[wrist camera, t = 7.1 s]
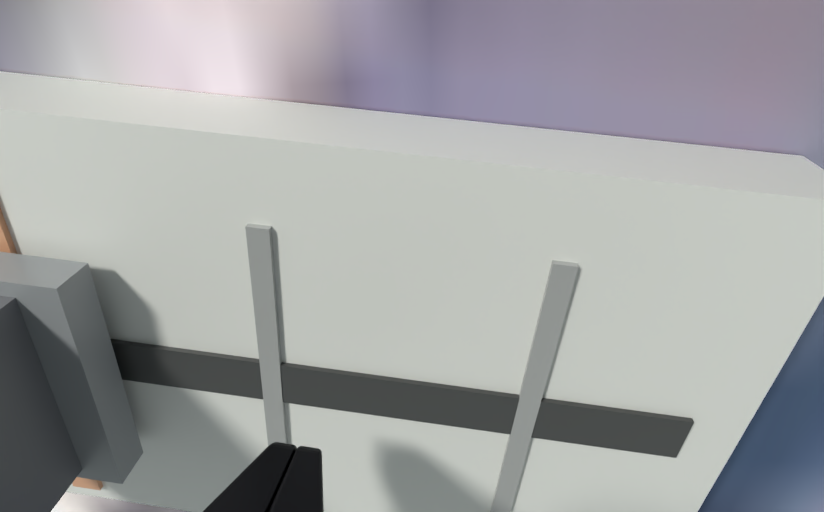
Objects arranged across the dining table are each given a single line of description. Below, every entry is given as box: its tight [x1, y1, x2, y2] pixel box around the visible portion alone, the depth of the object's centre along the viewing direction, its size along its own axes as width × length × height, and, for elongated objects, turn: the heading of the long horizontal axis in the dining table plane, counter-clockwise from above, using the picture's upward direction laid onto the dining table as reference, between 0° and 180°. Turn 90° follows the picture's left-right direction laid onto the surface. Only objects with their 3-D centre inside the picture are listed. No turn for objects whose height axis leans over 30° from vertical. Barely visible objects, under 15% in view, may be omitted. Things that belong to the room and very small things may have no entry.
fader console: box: [0, 71, 824, 512], centre depth 11 cm, size 20×10×2 cm, turn 85°
